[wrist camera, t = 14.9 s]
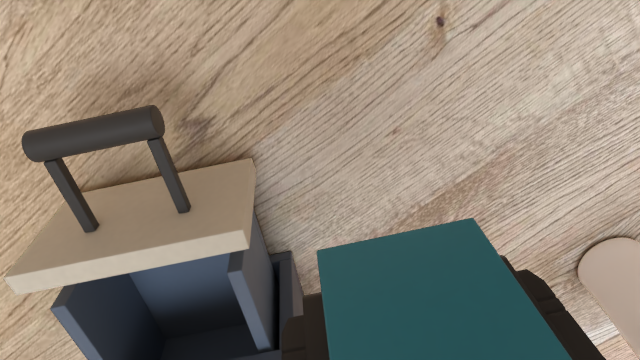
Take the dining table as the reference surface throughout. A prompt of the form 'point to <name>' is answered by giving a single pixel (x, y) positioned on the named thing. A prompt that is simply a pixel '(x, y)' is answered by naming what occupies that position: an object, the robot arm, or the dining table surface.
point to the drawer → (151, 252)
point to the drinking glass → (616, 284)
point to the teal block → (429, 300)
